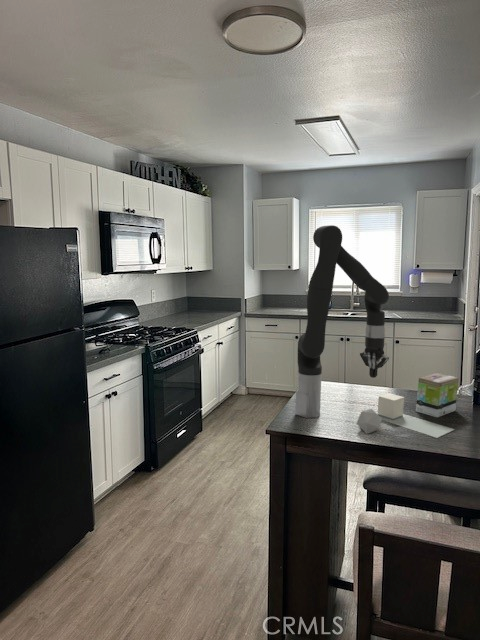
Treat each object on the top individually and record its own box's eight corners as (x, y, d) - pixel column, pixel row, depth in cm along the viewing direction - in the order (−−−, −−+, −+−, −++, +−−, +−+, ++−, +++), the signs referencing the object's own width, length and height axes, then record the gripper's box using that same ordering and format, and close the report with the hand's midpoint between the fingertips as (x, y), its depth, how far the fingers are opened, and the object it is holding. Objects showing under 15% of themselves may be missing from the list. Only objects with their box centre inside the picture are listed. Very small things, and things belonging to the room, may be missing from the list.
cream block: (393, 420, 181) (394, 400, 180) (377, 415, 186) (378, 396, 185) (402, 416, 185) (404, 397, 184) (387, 411, 191) (388, 393, 190)
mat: (436, 438, 164) (436, 437, 164) (369, 416, 186) (369, 415, 186) (454, 430, 172) (454, 429, 172) (388, 410, 194) (388, 409, 194)
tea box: (438, 418, 184) (441, 382, 182) (415, 412, 192) (417, 377, 190) (456, 411, 194) (459, 376, 192) (433, 404, 202) (435, 371, 200)
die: (368, 427, 176) (354, 407, 175) (388, 421, 171) (374, 401, 170) (364, 441, 170) (349, 421, 169) (384, 435, 165) (369, 415, 163)
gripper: (355, 334, 191) (354, 375, 194) (383, 339, 181) (381, 382, 183) (366, 332, 196) (365, 372, 198) (394, 336, 186) (392, 379, 188)
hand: (373, 377), depth 191 cm, fingers closed
